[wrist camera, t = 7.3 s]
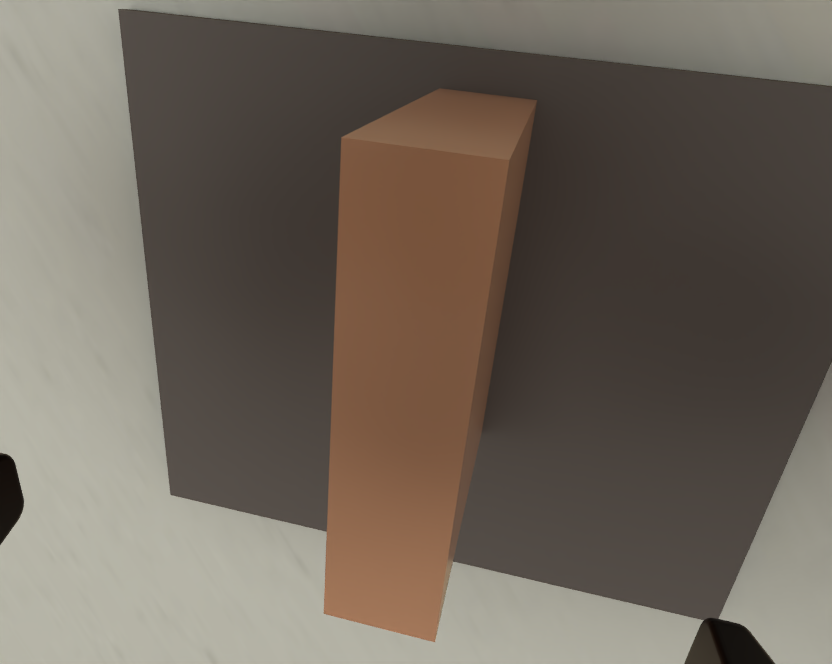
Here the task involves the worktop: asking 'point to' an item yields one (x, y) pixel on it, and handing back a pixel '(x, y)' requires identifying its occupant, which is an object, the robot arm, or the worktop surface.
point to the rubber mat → (523, 301)
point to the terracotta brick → (416, 344)
